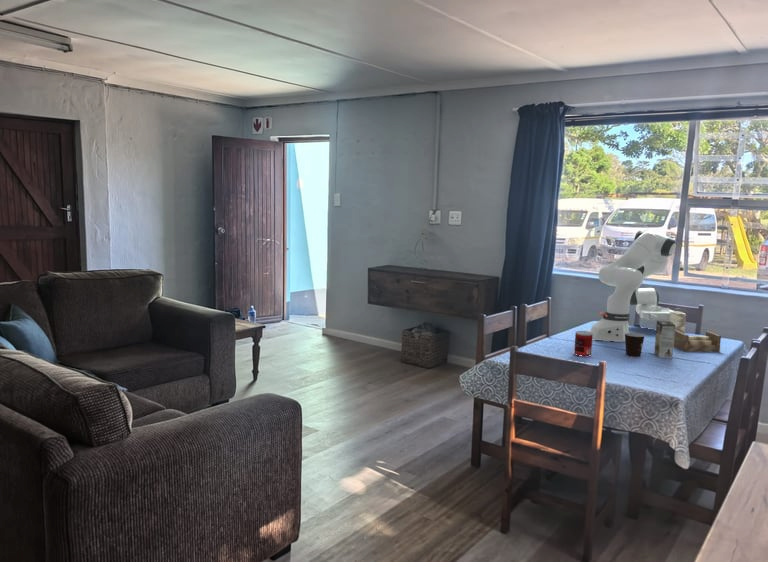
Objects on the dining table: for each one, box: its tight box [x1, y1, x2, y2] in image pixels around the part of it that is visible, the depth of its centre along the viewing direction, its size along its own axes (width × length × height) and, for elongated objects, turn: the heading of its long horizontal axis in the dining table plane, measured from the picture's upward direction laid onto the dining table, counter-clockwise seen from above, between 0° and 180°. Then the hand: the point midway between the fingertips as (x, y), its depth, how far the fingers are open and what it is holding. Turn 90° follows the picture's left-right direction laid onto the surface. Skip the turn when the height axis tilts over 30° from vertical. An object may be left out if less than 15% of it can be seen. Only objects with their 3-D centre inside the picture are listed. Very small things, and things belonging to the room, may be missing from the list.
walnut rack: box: [674, 331, 722, 352], centre depth 288 cm, size 18×10×8 cm, turn 90°
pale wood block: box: [668, 310, 687, 334], centre depth 308 cm, size 4×8×15 cm, turn 0°
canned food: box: [573, 330, 593, 356], centre depth 272 cm, size 8×8×11 cm
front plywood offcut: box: [688, 340, 712, 345], centre depth 286 cm, size 11×2×5 cm, turn 90°
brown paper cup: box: [624, 332, 645, 358], centre depth 274 cm, size 12×9×10 cm
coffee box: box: [654, 320, 675, 359], centre depth 273 cm, size 9×6×16 cm
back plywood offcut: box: [688, 335, 709, 340], centre depth 289 cm, size 11×2×6 cm, turn 90°
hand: (665, 317), depth 321 cm, fingers open, 8 cm apart
